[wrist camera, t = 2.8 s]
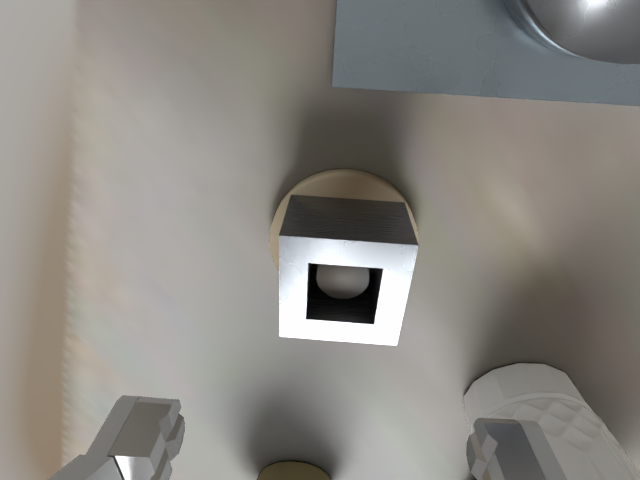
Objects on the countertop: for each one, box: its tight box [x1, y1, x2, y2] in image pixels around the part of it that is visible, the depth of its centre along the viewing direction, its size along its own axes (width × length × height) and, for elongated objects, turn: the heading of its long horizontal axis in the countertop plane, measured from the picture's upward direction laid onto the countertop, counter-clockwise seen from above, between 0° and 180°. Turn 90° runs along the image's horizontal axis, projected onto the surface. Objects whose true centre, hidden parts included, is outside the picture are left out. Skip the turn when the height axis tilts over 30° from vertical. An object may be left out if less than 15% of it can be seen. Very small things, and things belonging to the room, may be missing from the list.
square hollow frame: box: [279, 195, 419, 346], centre depth 16 cm, size 5×5×4 cm
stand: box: [269, 169, 418, 299], centre depth 17 cm, size 7×7×4 cm
